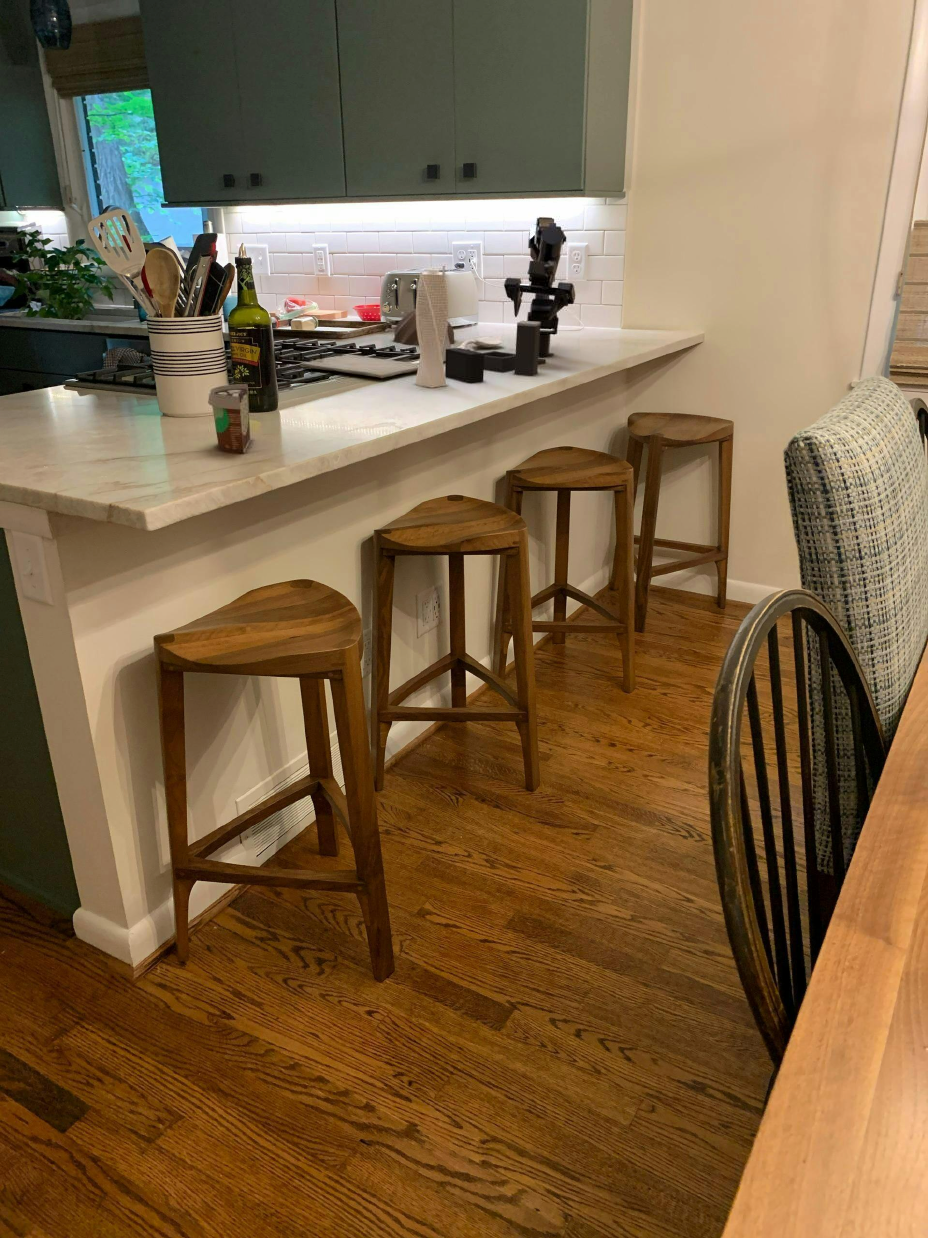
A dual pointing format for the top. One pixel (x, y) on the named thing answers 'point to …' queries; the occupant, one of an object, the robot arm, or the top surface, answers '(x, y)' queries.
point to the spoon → (483, 342)
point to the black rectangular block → (464, 365)
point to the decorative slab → (362, 365)
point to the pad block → (527, 348)
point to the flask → (445, 345)
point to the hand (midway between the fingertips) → (532, 317)
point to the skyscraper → (431, 327)
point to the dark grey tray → (501, 361)
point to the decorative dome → (413, 330)
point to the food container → (231, 416)
